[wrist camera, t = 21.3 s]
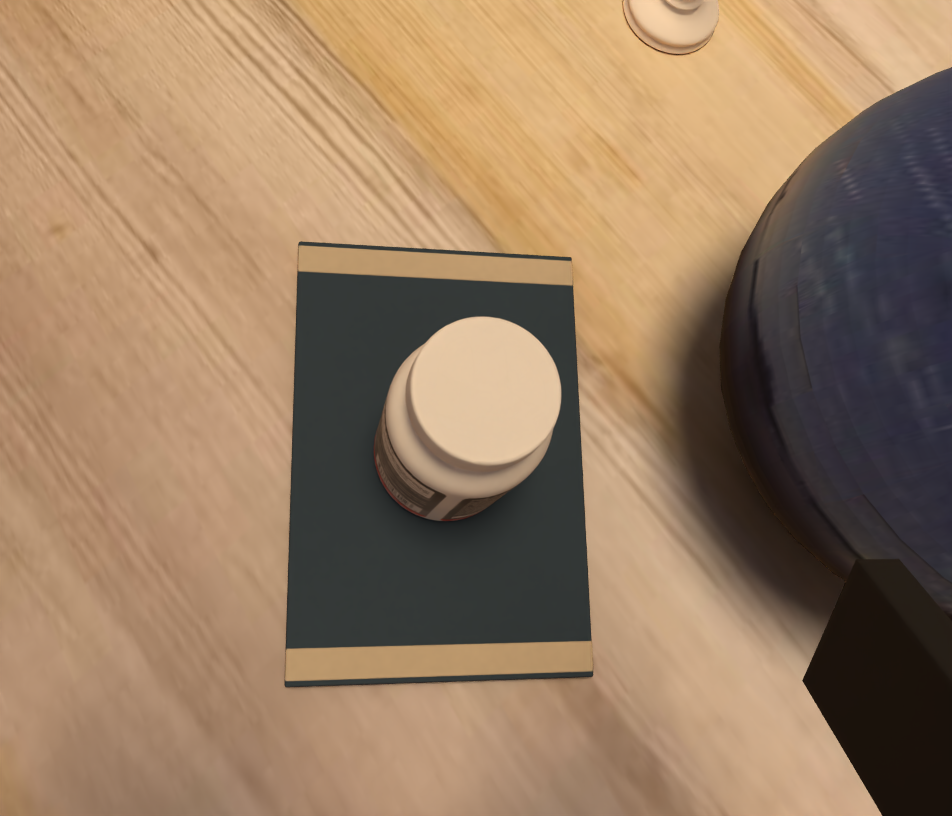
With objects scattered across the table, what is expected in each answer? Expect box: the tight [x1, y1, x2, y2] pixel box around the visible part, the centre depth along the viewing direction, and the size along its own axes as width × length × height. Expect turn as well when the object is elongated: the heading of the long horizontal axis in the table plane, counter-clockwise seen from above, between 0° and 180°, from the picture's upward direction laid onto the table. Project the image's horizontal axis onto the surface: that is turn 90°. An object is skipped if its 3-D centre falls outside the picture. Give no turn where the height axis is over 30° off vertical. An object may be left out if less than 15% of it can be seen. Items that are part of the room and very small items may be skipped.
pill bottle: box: [374, 317, 561, 521], centre depth 31 cm, size 6×6×10 cm
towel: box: [285, 242, 593, 687], centre depth 36 cm, size 18×12×1 cm, turn 1°
